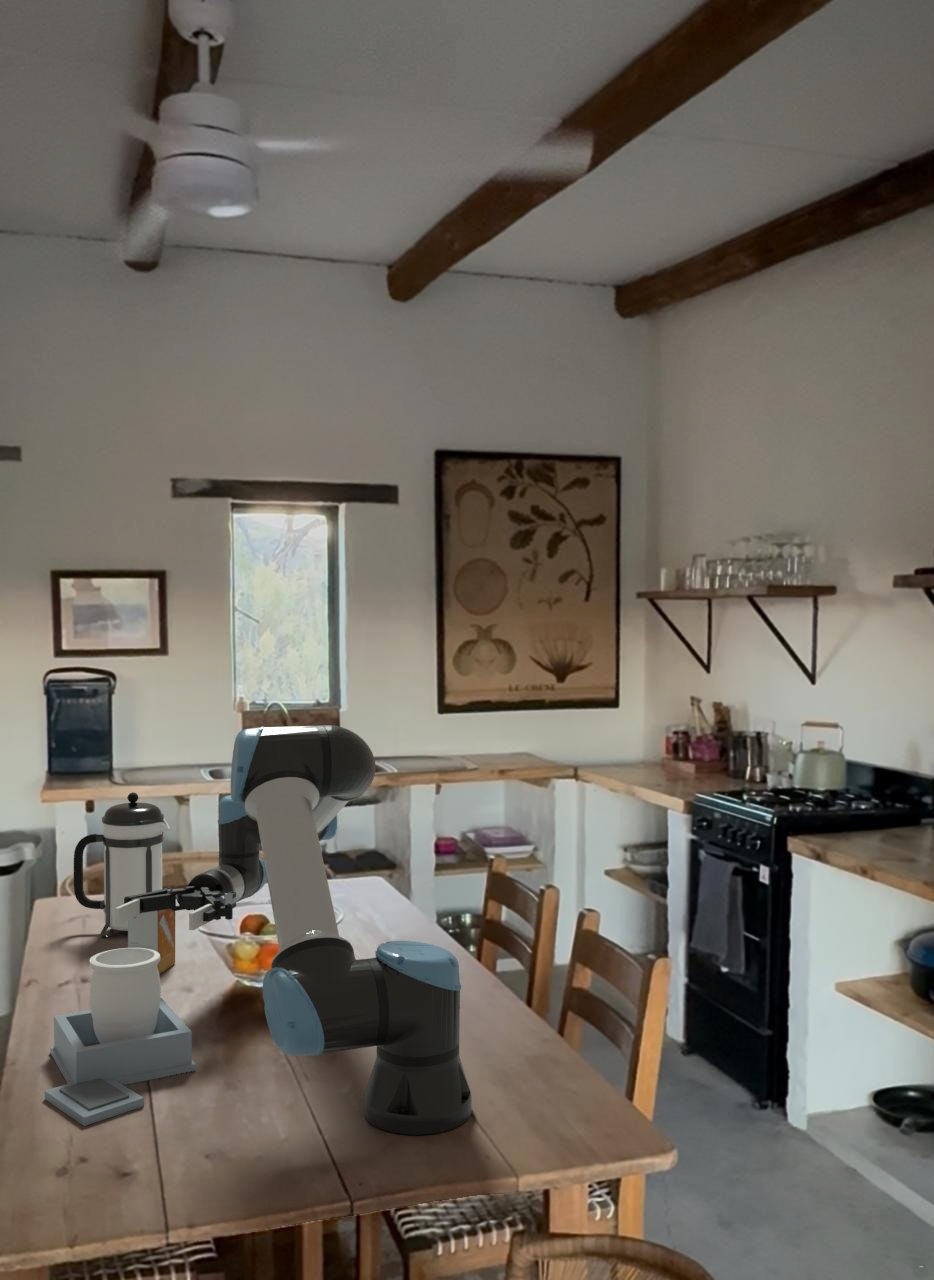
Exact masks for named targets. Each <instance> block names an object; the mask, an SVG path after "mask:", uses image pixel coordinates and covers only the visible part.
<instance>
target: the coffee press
mask: <svg viewBox="0 0 934 1280" xmlns="http://www.w3.org/2000/svg"><path fill="white" fill-rule="evenodd" d="M127 801H128V802H124V803H119V804H115V805H113V806H110V807H109V808H107V809H106V811H105V813H104V816H102V817H101V822H102V825H103V834H98V833H90V834H87V835H86V836H84V837H82V838H80V839H79V841H78V843H77V844H76V846H75V849H74V851H73V852H74V853H73V854H74V855H73V891H74V896H75V899H76V900H77V901H78V903H79V904H80V905H81V906H82V907H84V908H88V909H93V910H103V912H104V923H105V924H104V926H103V928H102V930H101V932H100V935H101V937H102V936H103V937H102V938H105V935H107V936H110V937H111V935H113V933H114V932H116V931H122V932H125V931H126V932H128V921H126V922H124V923H122V924H119V925H115V908H116V907H119V906H121V905H123V904H124V897H126V896H133V895H138V894H143V893H148V892H153V891H158V890H162V889H163V842H164V832H163V831H166V830H167V831H169V830H170V829H171V827H170V825H169V824H168V822H167V821H166V819H165V818H164V817H165V816H164V814H163V813H162V811H161V809H160V807H159V806H157V805H156V804H152V803H149V802H148V803H147V802H137V801H139V794H138V793H136V792H131V793H129V794H128V796H127ZM93 843H102V844H103V882H104V883H103V885H104V886H103V891H104V893H103V894H104V895H103V897H104V898H103V900H95V899H94V900H93V899H90V898H88V897H87V896H86V894H85V891H84V851H85V849H86V847H87V845H89V844H93ZM109 928H110V930H109V931H108V929H109ZM107 931H108V932H107Z"/></svg>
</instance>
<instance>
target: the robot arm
mask: <svg viewBox="0 0 934 1280" xmlns="http://www.w3.org/2000/svg"><path fill="white" fill-rule="evenodd" d="M232 750H233V751H232V759H231V767H230V768H231V769H230V795H225V796H223V797H222V798H221V799H220V801H219V804H218V820H217V824H218V865H217V866H214V867H213V868H211V869H208V870H207V871H204V872H202V873H199V874H197V875H196V876H194V877H193V878H192V879H191V880H189V883H188V885H187V886H184V887H183V888H178V889H173V887H170V886H168V887H166V888H165V887H164V888H162V890H158V891H153V892H148V893H143V894H138V895H133V896H126V897H124V904H123V905H121V906H119V907H116V908H115V925H119V924H122V923H124V922H126V921H128V920H131V919H133V918H136V917H137V916H139V915H140V913H144V912H151V911H158V910H165V909H171V910H173V911H175V912H177V911H178V912H179V911H184V910H185V911H190V912H189V913H188V930H189V931H195V930H196V929H199V928H201V927H203V926H204V925H206V924H208V923H210V922H212V921H214V920H215V921H218V920H221V919H222V917H225V920H228V921H230V920H233V916H234V913H233V909H234V908H236V907H237V903H238V902H240V901H243V900H245V899H247V898H250V897H252V896H254V895H255V894H257V893H258V892H259V891H261V890H262V888H263V887H264V886H265V885H266V883H267V886H268V892H269V896H270V898H269V899H270V902H271V909H272V915H273V921H274V927H275V933H276V939H277V945H278V951H277V953H276V954H275V955H274V957H273V958H272V960H271V965H270V967H271V968H270V969H269V970H267V971H266V972H265V973H264V976H263V979H262V980H263V981H262V999H263V1002H264V1014H265V1019H266V1023H267V1026H268V1030H269V1033H270V1035H271V1037H272V1040H273V1042H274V1043H275V1046H276V1047H277V1049H278V1050H279V1051H281V1052H282V1054H284V1055H286V1056H288V1057H300V1056H311V1057H317V1056H320V1055H322V1054H331V1053H337V1052H343V1051H344V1052H345V1051H350V1050H356V1049H364V1048H370V1047H376V1057H375V1061H374V1065H373V1068H372V1070H371V1074H370V1077H369V1080H368V1083H367V1086H366V1089H365V1092H364V1096H363V1114H364V1115H363V1116H364V1117H365V1120H366V1121H368V1122H369V1123H370V1124H371V1125H373V1126H374V1127H375V1128H378V1129H379V1130H380V1129H381V1130H384V1131H387V1132H390V1133H395V1134H399V1135H401V1134H402V1135H411V1136H413V1135H414V1136H416V1135H430V1134H433V1135H434V1134H438V1133H443V1132H446V1131H450V1130H452V1129H453V1130H454V1129H455V1128H458V1127H459V1126H461V1125H463V1124H464V1123H465V1122H467V1121H468V1120H469V1118H470V1116H471V1115H472V1110H473V1109H472V1103H473V1102H472V1091H471V1089H470V1085H469V1082H468V1079H467V1076H466V1073H465V1069H464V1066H463V1064H462V1060H461V1058H460V1030H461V1029H460V1026H461V1025H460V1022H461V1021H460V1020H461V1019H460V1016H461V1015H460V1014H461V1013H460V1011H461V1009H460V1008H461V1007H460V1006H461V989H462V984H461V977H460V965H459V961H458V959H457V957H456V956H455V955H454V954H453V953H452V952H451V951H449V950H448V949H446V948H443V947H441V946H439V945H434V944H430V943H426V942H421V941H412V940H391V941H387V942H383V943H380V944H379V945H378V946H377V949H376V951H375V957H372V958H362V959H357V958H356V955H355V951H354V947H353V945H352V943H351V942H350V941H349V940H348V939H345V938H344V937H342V936H340V933H339V928H338V924H337V919H336V915H335V909H334V905H333V900H332V895H331V891H330V887H329V886H330V885H329V882H328V877H327V872H326V867H325V862H324V858H323V854H322V848H321V844H320V842H322V841H327V840H332V839H333V838H334V837H335V836H336V833H337V829H338V814H339V813H340V811H342V809H343V808H344V807H345V806H346V805H347V804H348V802H350V801H355V800H357V799H358V798H360V797H361V796H363V795H364V793H366V791H368V789H369V788H370V787H371V785H372V784H373V781H374V778H375V776H376V759H375V757H374V754H373V751H372V750H371V748H370V746H369V745H368V744H367V742H366V741H365V740H364V739H363V738H362V737H361V736H359V735H358V734H357V733H355V732H354V731H352V730H350V729H348V728H345V727H342V726H337V725H332V724H321V725H298V726H297V725H295V726H267V727H266V726H265V725H261V726H260V727H252V728H244V729H241V730H240V731H239V732H238V733H237V735H236V737H235V740H234V745H233V749H232ZM260 846H261V851H262V856H263V859H262V858H261V857H260ZM176 902H177V903H176ZM177 904H178V905H177Z"/></svg>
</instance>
